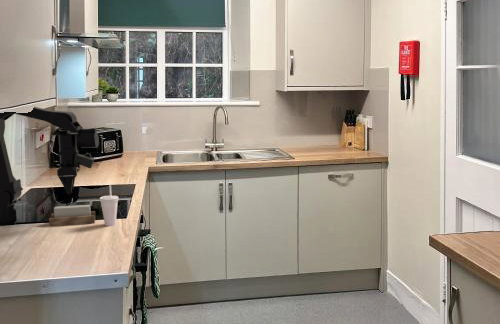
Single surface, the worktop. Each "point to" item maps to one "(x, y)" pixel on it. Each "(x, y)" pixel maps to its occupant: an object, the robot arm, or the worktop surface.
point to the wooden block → (72, 220)
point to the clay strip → (72, 211)
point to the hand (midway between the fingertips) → (70, 191)
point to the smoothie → (109, 208)
